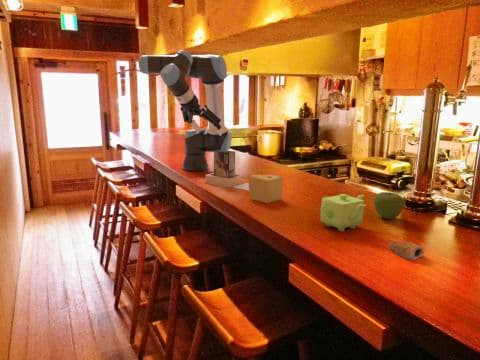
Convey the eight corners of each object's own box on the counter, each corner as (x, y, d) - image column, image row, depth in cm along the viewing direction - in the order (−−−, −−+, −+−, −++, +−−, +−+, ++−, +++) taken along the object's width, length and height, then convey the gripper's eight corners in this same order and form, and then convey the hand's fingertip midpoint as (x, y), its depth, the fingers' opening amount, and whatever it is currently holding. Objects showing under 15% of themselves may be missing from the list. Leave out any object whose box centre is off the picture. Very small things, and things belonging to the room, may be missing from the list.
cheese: (264, 195, 169) (265, 172, 167) (283, 200, 162) (284, 176, 159) (248, 198, 162) (248, 175, 160) (267, 204, 154) (268, 180, 152)
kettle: (361, 221, 136) (364, 191, 133) (366, 235, 122) (370, 201, 120) (318, 218, 138) (320, 188, 136) (319, 231, 125) (321, 198, 122)
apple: (365, 215, 142) (368, 189, 140) (385, 212, 147) (387, 187, 145) (389, 224, 133) (392, 197, 131) (409, 220, 138) (412, 193, 136)
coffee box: (235, 183, 190) (236, 151, 187) (229, 185, 185) (229, 152, 181) (219, 180, 194) (220, 149, 191) (212, 183, 189) (213, 151, 185)
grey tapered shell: (382, 249, 111) (384, 237, 110) (397, 246, 115) (399, 233, 114) (411, 262, 103) (412, 248, 102) (426, 257, 107) (428, 244, 106)
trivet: (246, 184, 189) (246, 182, 188) (265, 187, 182) (265, 186, 182) (233, 187, 180) (233, 186, 180) (252, 191, 174) (252, 190, 173)
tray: (220, 179, 198) (220, 171, 197) (243, 183, 190) (243, 175, 189) (205, 182, 189) (205, 174, 188) (228, 187, 181) (228, 179, 180)
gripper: (161, 103, 166) (186, 136, 181) (204, 105, 151) (227, 140, 166) (170, 91, 169) (194, 124, 184) (213, 92, 154) (235, 128, 169)
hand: (210, 132), depth 175 cm, fingers open, 13 cm apart
